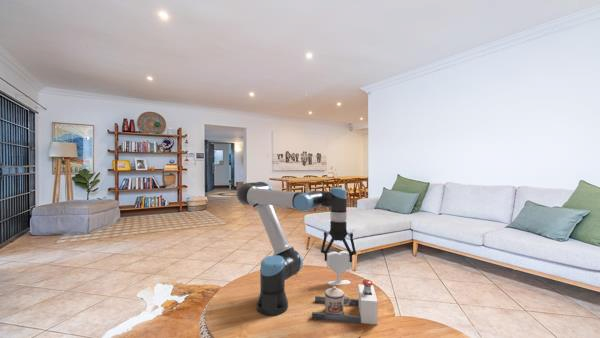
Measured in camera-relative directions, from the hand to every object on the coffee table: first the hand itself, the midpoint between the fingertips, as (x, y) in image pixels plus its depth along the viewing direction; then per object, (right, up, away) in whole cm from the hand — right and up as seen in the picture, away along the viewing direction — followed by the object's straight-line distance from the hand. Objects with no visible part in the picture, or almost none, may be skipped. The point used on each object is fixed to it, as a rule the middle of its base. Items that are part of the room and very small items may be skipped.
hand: (338, 268), depth 126 cm
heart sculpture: (+5, -20, +32) cm, 38 cm away
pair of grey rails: (-1, -20, 0) cm, 20 cm away
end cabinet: (+13, -21, -2) cm, 25 cm away
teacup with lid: (0, -21, 0) cm, 21 cm away
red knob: (+13, -13, -2) cm, 18 cm away
